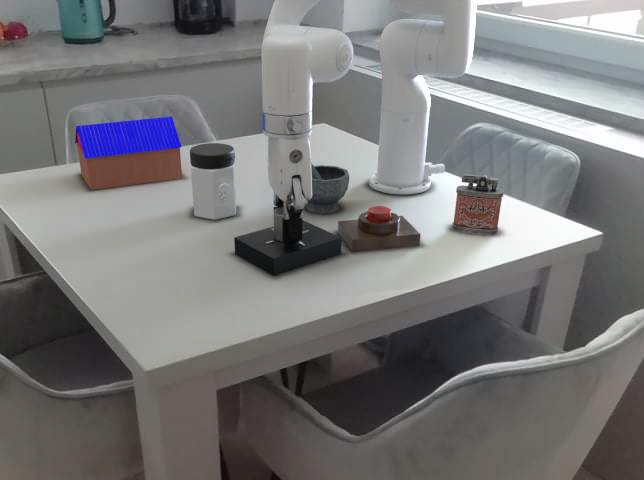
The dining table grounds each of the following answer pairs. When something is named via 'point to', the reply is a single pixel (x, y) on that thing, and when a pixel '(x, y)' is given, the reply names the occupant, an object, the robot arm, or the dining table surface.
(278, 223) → the dial knob
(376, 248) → the button block
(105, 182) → the house
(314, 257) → the control panel
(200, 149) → the jar
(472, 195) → the lighter
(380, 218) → the button
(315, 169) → the mortar and pestle
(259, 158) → the dining table surface
